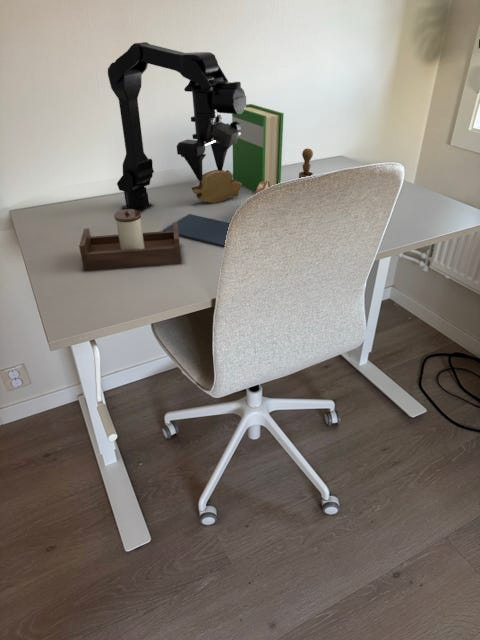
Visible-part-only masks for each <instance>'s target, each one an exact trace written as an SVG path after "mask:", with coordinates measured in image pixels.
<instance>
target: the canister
mask: <svg viewBox="0 0 480 640" xmlns="http://www.w3.org/2000/svg"><path fill="white" fill-rule="evenodd" d="M141 212H142V211H138V210H135V209H120V210H118V211H116V212H114V215H113V218H114V220H115V224H116V231H117V235H118V237H119V242H120V248H121V250H129V249H143V248H145V246H144V239H143V233H144V232H143V226H142V213H141Z"/></svg>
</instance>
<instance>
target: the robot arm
mask: <svg viewBox="0 0 480 640" xmlns="http://www.w3.org/2000/svg"><path fill="white" fill-rule="evenodd" d="M149 65H153V66H156V67H160V68H163V69H168V70H171V71H175V72H177V73H179V74H180V75H181V76H182V77H183V78H185V79H186V80H189V82H188V84H187V85H186V86H185V87H184V88H183V90H184V92H191V95H192V107H193V116H191V117H190V122H192V123H194V128H195V129H194V130H195V133H193V134H191V135H192V139H185V140H181V141H179V142H178V143H177V144H176V154H177V155H179V156H180V157H181V158H184V160H185V161H186V162H187V164H188V165H189V167H190V169H191V170H192V172H193V174H194V176H195V177H196V179H197V180H198V181H199V180H200V181H201V180H202V175H203V160H204V158H206V155H207V154H206V153H205V151H206V147H209V146H210V148H211V151H212V155H213V158H214V163H215V165H216V170H218V171H222V170H223V168H224V164H225V160H226V155H227V153H228V150H229V148H230V147H232V146H233V144H236V142H237V139H238V137H239V136H241V133H240V132H241V128H240V123H239V122H237V121H234V122H232V121H231V122H230V123H228V122H227V123H225V122H223V117H222V115H221V114H229V115H232V114H242V113H243V111H244V110H245V107H246V105H247V96H246V93H245V90H244V89H243V88H242V83H241V81H233V82H231V81H230V82H229V79H228V78H227V77H226V75H225V73H224V72H223V70H222V68H221V67H220V65H219V62H218V60H217V58H216V55H215V54H214V53H212V52H210V51H197V52H196V51H195V52H183V51H180V50H176V49H175V50H174V49H170V48H167V47H162V46H159V45H155V44H150V43H149V42H147V41H142V42H134V43H133V44H132V45H130V47H128V49H127V50H126V51H125V52H124V53H123V54H121V55H120V56H119V57H118V58H117V59H115V61H113V62H112V63H110V64H109V67H107V77H108V81H109V84H110V88H111V89H110V90H112V92H113V94H114V95H115V96H116V97H117V99H118V104H119V105H118V106H119V111H120V119H121V125H122V133H123V140H124V148H125V156H124V159H123V162H122V175H121V177H120V178H119V180H118V181H117V183H116V186H117V188H118V190H119V191H121V192H123V194H124V200H125V201H124V202H125V205H123V206H122V210H126V209H135V210H138V211H140V212H142V211H144V210H146V209H148V208H151V206H152V203H151V202H150V199H149V194H148V192H147V186H150V184H151V179H152V178H153V176H154V175H153V174H154V173H155V171H154V168H153V159H152V158H148V156H147V155H146V154H145V151H144V143H143V142H144V141H143V133H142V125H141V118H140V109H139V102H138V101H139V100H138V98H139V95H140V92H141V89H142V75H143V74H144V73H145V72H146V70H147V69H148V66H149ZM218 113H219V114H218Z"/></svg>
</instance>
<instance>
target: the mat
mask: <svg viewBox="0 0 480 640" xmlns="http://www.w3.org/2000/svg"><path fill="white" fill-rule="evenodd" d="M176 222H177V224H178V233H179V237H182V238H187V239H191V240H194V241H198V242H201V243H207V244H210V245H213V246H218V247H221V248H222V247H223V248H225V247H224V245H225V240H226V235H227V231H228V227H229V224H230V223H231V222H227V221H223V220H218V219H213V218H210V217H205V216H200V215H196V214H191V213H189V214H187V215H185V216H184V217H182V218H180V219H179V220H177V221H176ZM162 231H173V223H171V224H170V225H169V226H167V227H166V228H164V229H163V230H162Z"/></svg>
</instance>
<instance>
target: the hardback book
mask: <svg viewBox="0 0 480 640" xmlns="http://www.w3.org/2000/svg"><path fill="white" fill-rule="evenodd" d="M231 120H232V121H231V123H232V122H234V121H237V122H239V123H240V128H241V132H240V133H241V136H239V137H238V139H237V142H236V144H233V145H232V177H233V178H232V179H234V180H237V181H239V182H240V183H241V184H242V187H243V186H244V187H245V188H247V189H249V190H251V191H253V192H255V191H256V189H257V187H258V185H259V183H260V182H266V181H269V184H270V186H272V185H275V184H278V183H280V182H281V181H282V160H283V159H282V158H283V135H284V112H280V111H277V110H274V109H270V108H267V107H263V106H260V105H256V104H254V103H249V104H248V103H246V107H245V110H244V111H243V113H242V114H231ZM280 184H281V183H280Z"/></svg>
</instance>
